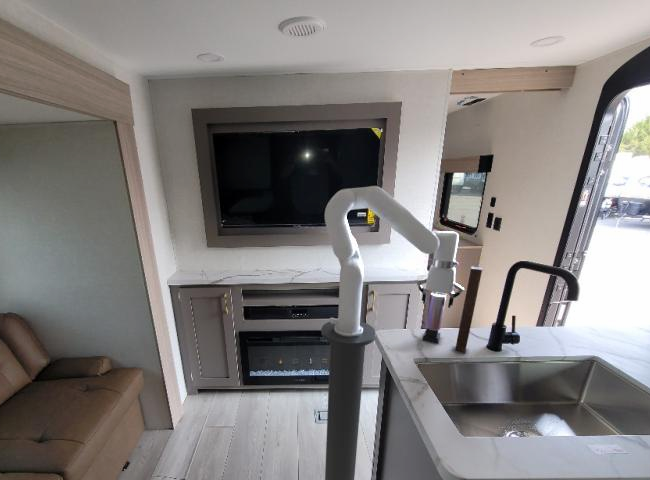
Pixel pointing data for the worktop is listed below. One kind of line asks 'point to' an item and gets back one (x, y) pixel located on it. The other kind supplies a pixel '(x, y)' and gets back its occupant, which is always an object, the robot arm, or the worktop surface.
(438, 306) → the beverage can
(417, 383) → the worktop surface
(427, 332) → the small pad
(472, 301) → the walnut post
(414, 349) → the worktop surface
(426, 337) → the wide pad
